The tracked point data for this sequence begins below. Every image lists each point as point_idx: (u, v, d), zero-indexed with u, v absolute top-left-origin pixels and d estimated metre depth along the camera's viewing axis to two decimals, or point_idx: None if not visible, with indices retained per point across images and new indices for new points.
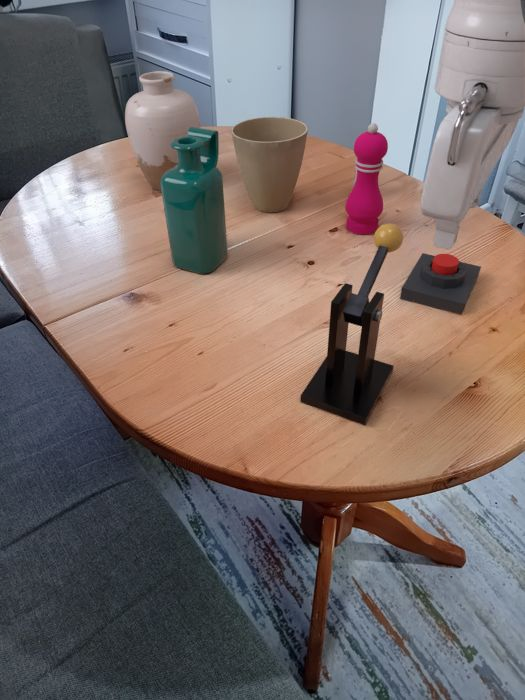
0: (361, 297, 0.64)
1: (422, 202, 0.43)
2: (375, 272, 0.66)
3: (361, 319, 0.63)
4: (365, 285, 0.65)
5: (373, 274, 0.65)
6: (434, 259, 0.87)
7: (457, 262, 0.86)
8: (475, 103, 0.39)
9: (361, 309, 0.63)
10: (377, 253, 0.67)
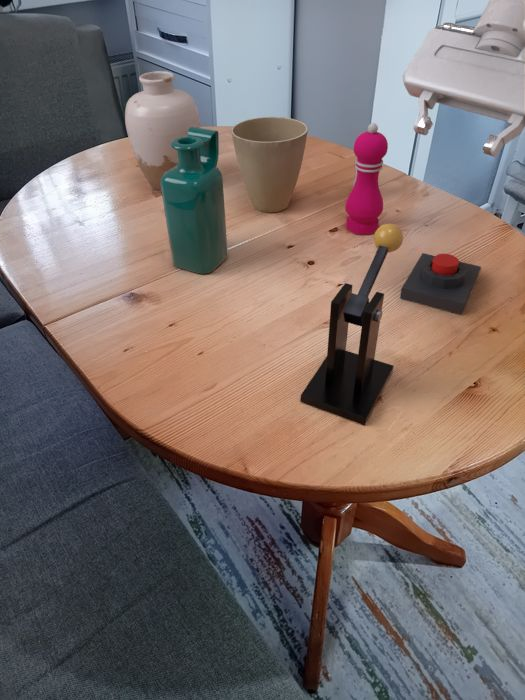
0: (361, 297, 0.64)
1: None
2: (375, 272, 0.66)
3: (361, 319, 0.63)
4: (365, 285, 0.65)
5: (373, 274, 0.65)
6: (434, 259, 0.87)
7: (457, 262, 0.86)
8: (448, 23, 0.68)
9: (361, 309, 0.63)
10: (377, 253, 0.67)
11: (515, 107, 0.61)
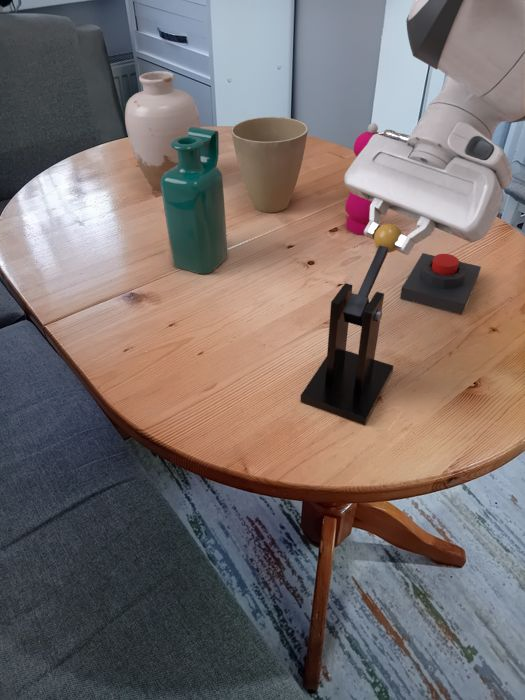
0: (361, 297, 0.64)
1: None
2: (375, 272, 0.66)
3: (361, 319, 0.63)
4: (365, 285, 0.65)
5: (373, 274, 0.65)
6: (434, 259, 0.87)
7: (457, 262, 0.86)
8: (388, 131, 0.71)
9: (361, 309, 0.63)
10: (377, 253, 0.67)
11: (439, 217, 0.63)
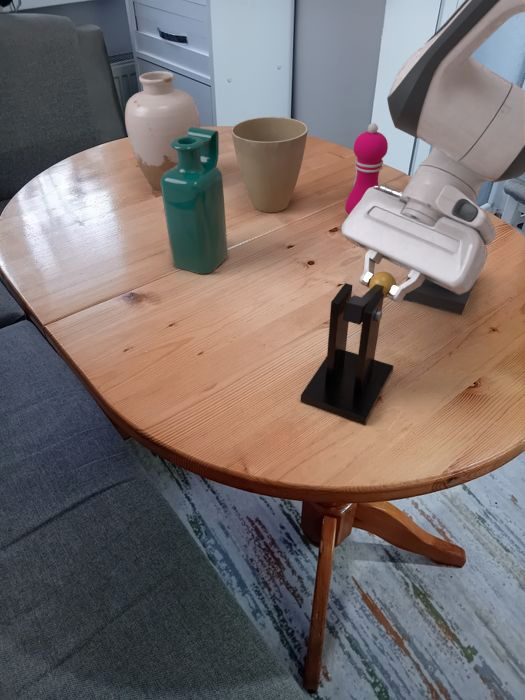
0: (363, 298, 0.65)
1: None
2: (373, 294, 0.68)
3: (362, 313, 0.63)
4: (365, 297, 0.67)
5: (372, 294, 0.68)
6: None
7: None
8: (382, 185, 0.76)
9: (364, 303, 0.63)
10: (374, 286, 0.71)
11: (428, 272, 0.68)
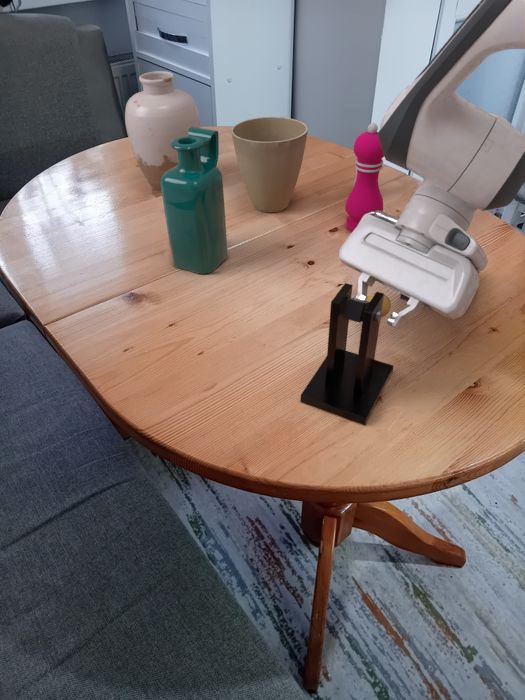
0: (363, 300, 0.65)
1: None
2: None
3: (363, 310, 0.63)
4: None
5: None
6: None
7: None
8: (378, 212, 0.79)
9: (365, 302, 0.63)
10: None
11: (422, 298, 0.71)
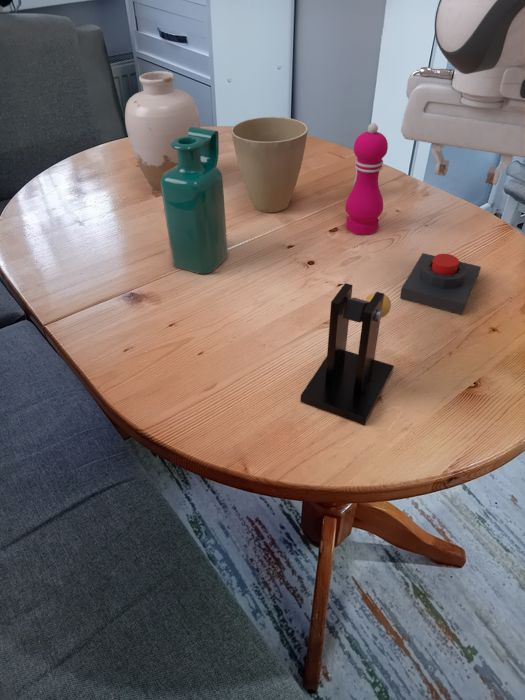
0: (363, 300, 0.65)
1: None
2: None
3: (363, 310, 0.63)
4: None
5: None
6: (434, 259, 0.87)
7: (457, 262, 0.86)
8: (424, 71, 0.72)
9: (365, 302, 0.63)
10: None
11: (512, 153, 0.71)
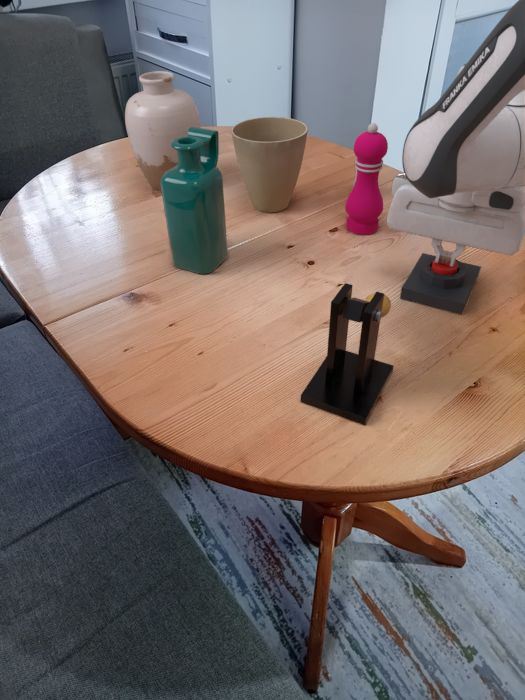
0: (363, 300, 0.65)
1: None
2: None
3: (363, 310, 0.63)
4: None
5: None
6: (433, 263, 0.87)
7: (456, 266, 0.86)
8: None
9: (365, 302, 0.63)
10: None
11: (484, 248, 0.81)
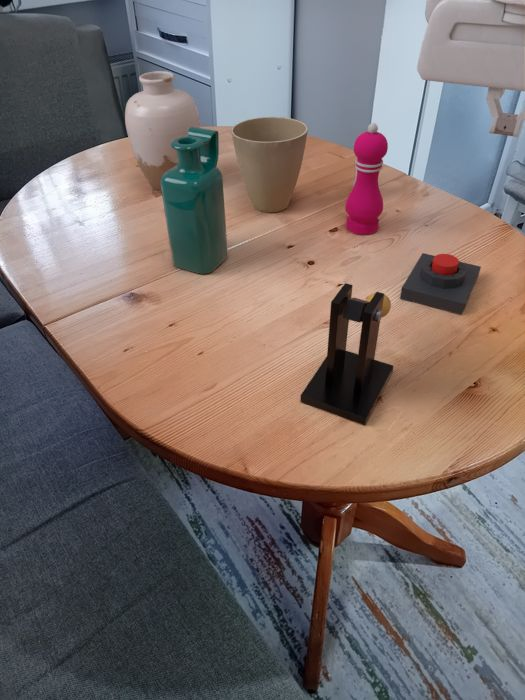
0: (363, 300, 0.65)
1: None
2: None
3: (363, 310, 0.63)
4: None
5: None
6: (434, 259, 0.87)
7: (457, 262, 0.86)
8: None
9: (365, 302, 0.63)
10: None
11: None
